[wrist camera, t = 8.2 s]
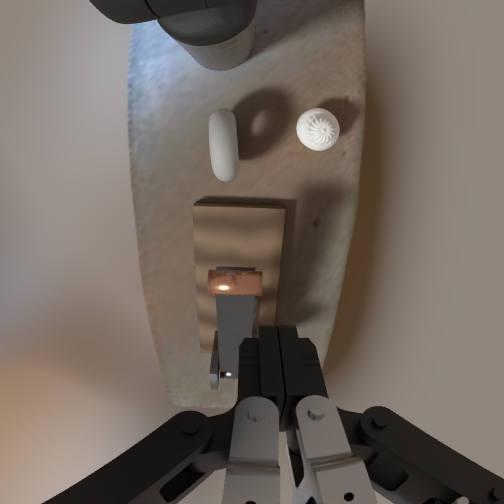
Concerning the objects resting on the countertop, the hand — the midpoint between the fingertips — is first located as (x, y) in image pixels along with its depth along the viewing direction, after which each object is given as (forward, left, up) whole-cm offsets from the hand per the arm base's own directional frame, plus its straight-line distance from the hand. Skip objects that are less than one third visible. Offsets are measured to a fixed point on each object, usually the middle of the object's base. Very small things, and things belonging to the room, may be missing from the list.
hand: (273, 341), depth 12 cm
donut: (-6, 0, -37) cm, 38 cm away
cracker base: (+13, -16, -37) cm, 42 cm away
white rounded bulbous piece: (+1, +11, -37) cm, 39 cm away
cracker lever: (+13, -16, -29) cm, 36 cm away
